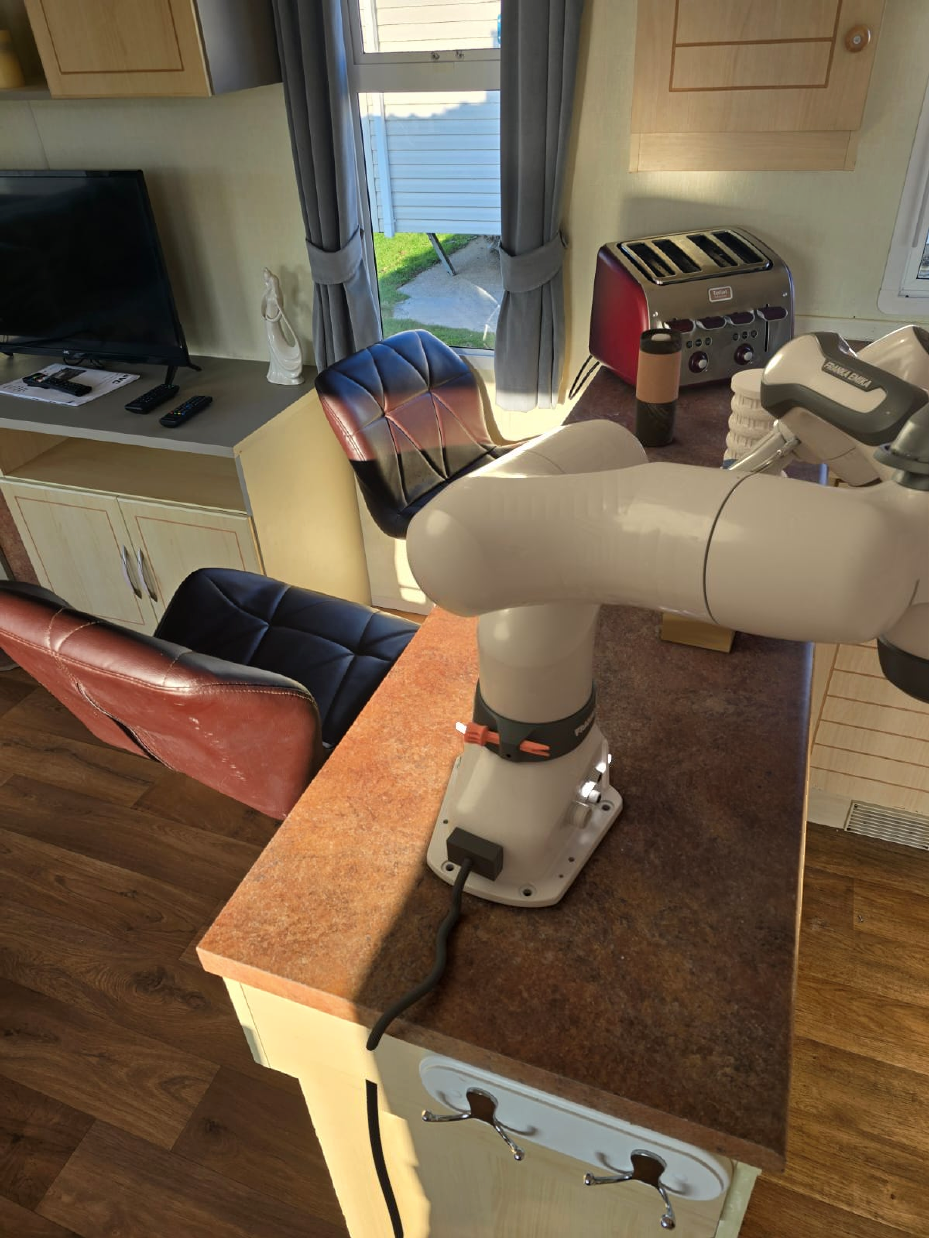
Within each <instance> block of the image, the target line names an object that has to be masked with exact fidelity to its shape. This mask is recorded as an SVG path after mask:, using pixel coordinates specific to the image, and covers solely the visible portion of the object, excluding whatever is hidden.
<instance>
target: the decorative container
mask: <svg viewBox="0 0 929 1238" xmlns="http://www.w3.org/2000/svg"><path fill="white" fill-rule="evenodd" d="M763 370H764V368H752V369H745V370H742V371H739V372H737V373H735V374H733V376H732V377H731V383H730V389H731V390H732V392H734V395H733V396H732V398H731V401H730V407H731V410H732V413H731V414H730V416H729V418H728V422H727V423H728V428H729V431H728V433H726V434H727V435H726V437H725V443H726V444H725V445H726V446H727V448H726V450H725V452H724V453H723V462H724V461H725V460H727V459H739V458H740V457H741V456H743V455H744V454H745V453H746V452H747V451H748V450H750V449H751V448H752V447H753V446H754V445H755V444H756V443H758V442H759V441H760V440H761V439H762V438H763V437H765V436H766V435H767V434H768V433H769V432H770V431H772V430H773V429H774V422H775V420H776V418H774V417H773V416H772V415H771V414H770V413H768V412H767V411H766V410H765V409H764V408H762V407H761V400H760V385H761V377H762V373H763ZM719 468H720V469H722V466H720V467H719ZM775 476H782V477H788V475H787V473H786V471H784V469H783V470H781V471H780V472H779V473H778V474H776V475H775Z"/></svg>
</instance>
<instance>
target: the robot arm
mask: <svg viewBox="0 0 929 1238" xmlns="http://www.w3.org/2000/svg"><path fill="white" fill-rule="evenodd" d="M763 369H764V370H763V373H762V377H761V385H760V400H761V407H762V408H764V409H765V410H766V411H767V412H768V413H770V414H771V415H772V416H773V417H774V418H776V420H775V422H774V429H773V430H772V431H770V432H769V433H768V434H767V435H766V436H765V437H763V438H762V439H761V440H760V441H759V442H758V443H756V444H755V445H754V446H753V447H752V448H751V449H750V450H748V451H747V452H746V453H745V454H744V455H743V456H741V457H740V458H739V459H738V460H737V461H736V462H734V463H733V464H732V465H731V466H730V467H729V468H728V469H720V467H711V466H704V465H695V464H685V463H678V462H677V463H676V462H670V461H653V462H650V461H649V458H648V456H647V453H646V451H645V449H644V447H643V445H642V444H640V443H639V441H638V440H637V439H636V437H635V434H633V433H632V432H631V431H630V430H628V429H627V428H626V427H624V426H623V425H621V424H620V423H618V422H615V421H611V420H608V419H603V418H602V419H600V418H597V419H590V420H585V421H579V422H573V423H569V424H564V425H561V426H557V427H554V428H553V429H551V430H549V431H546V432H545V433H542V434H541V435H539V436H537V437H535V438H533V439H531V440H529V441H527V442H525V443H524V444H521V445H519V446H518V447H516V448H514V449H512V450H510V451H508V452H506V453H505V454H503V455H501V456H499V457H498V458H495V459H493V460H492V461H490V462H488V463H486V464H484V465H482V466H481V467H478V468H477V469H474V470H473V471H471V472H469V473H467V474H465V475H463V476H461V477H459V478H457V479H456V480H454V481H452V482H451V483H449V484H448V485H447V486H445V487H444V488H442V490H441V491H440V492H438V493H437V494H436V495H435V496H434V497H432V498H431V499H430V500H429V502H427V503H426V504H425V505H424V506H423V507H422V508H421V509H420V510H419V511H417V512H416V513H415V514H414V516H413V517H412V518H411V520H410V521H409V523H408V526H407V531H406V536H405V537H406V538H405V551H406V552H405V553H406V560H407V563H408V567H409V570H410V572H411V575H412V577H413V580H414V581H415V583H416V584H417V587H418V588H419V589H420V590H421V592H422V593H423V594H424V596H426V598H428V600H429V601H431V602H432V603H433V604H434V605H436V606H437V607H439V608H440V609H442V610H443V611H445V612H448V613H450V614H452V615H454V616H457V617H461V618H475V617H478V619H477V624H476V645H477V647H476V648H477V662H478V663H477V665H478V679H477V682H476V685H475V692H474V696H473V703H472V704H473V705H472V709H471V713H472V714H471V715H472V717H471V721H470V722H468V723H467V724H466V726H465V725H463V723H460V722H458V721H457V723H456V730H458V731H460V732H462V733H463V740H464V742H465V743H464V746H463V747H464V748H463V751H462V753H461V754H459V755H458V756H457V757H456V759H455V762H454V764H453V768H452V772H451V774H450V778H449V780H448V784H447V788H446V790H445V794H444V796H443V800H442V804H441V807H440V810H439V813H438V816H437V819H436V822H435V826H434V829H433V832H432V836H431V839H430V843H429V845H428V849H427V853H426V863H427V865H428V867H429V868H430V869H431V870H432V871H433V873H434V874H436V875H437V877H439V878H440V879H441V880H443V881H444V882H446V883H447V884H449V885H451V886H452V890H451V903H450V908H449V911H448V913H447V915H446V917H445V918H444V920H443V921H442V923H441V924H440V926H439V928H438V930H437V933H436V935H435V944H434V947H435V962H434V966H433V967H432V969H431V971H430V972H429V974H427V976H426V977H425V979H423V981H422V982H421V983H420V984H418V985H417V986H416V987H415V988H413V989H412V990H410V991H409V992H408V993H406V994H404V995H403V996H402V997H400V998H399V999H398V1000H396V1001H395V1002H394V1003H392V1004H391V1005H390V1006H389V1007H388V1008H387V1009H386V1010H385V1011H384V1012H383V1013H382V1014H381V1016H380V1017H378V1019H377V1021H376V1023H375V1024H374V1026H373V1027H372V1029H371V1032H370V1033H369V1035H368V1038H367V1041H366V1043H365V1044H366V1045H365V1048H366V1051H369V1052H372V1051H374V1050H376V1049H377V1047H379V1043H380V1041H381V1039H382V1037H383V1035H384V1034H385V1032H386V1031H387V1029H388V1027H389V1026H390V1025H391V1023H392V1022H393V1021H394V1020H395V1019H396V1018H397V1017H398V1016H400V1015H401V1014H402V1013H403V1012H404V1011H406V1010H407V1009H409V1008H410V1007H411V1006H412V1005H414V1004H416V1003H417V1002H418V1001H420V1000H421V999H422V998H423V997H425V996H426V995H427V994H428V993H429V992H430V991H432V989H433V988H434V987H435V986H436V985H437V983H438V982H439V981H440V979H441V977H442V975H443V974H444V972H445V969H446V965H447V939H448V936H449V933H450V931H451V930H452V928H453V927H454V925H455V924H456V923H457V921H458V918H459V916H460V913H461V911H462V907H463V906H462V905H463V892H465V893H468V894H470V895H473V896H474V897H475V896H476V897H478V898H481V899H484V900H487V901H490V902H494V903H497V904H502V905H507V906H511V907H512V906H513V907H519V908H543V907H548V906H553V905H556V904H557V903H559V902H560V901H561V900H562V898H563V897H564V895H565V894H566V892H567V891H568V889H569V888H570V886H571V885H572V884H573V882H574V881H575V879H576V878H577V877H578V875H579V874H580V873H581V870H582V869H583V867H584V866H585V865H586V863H587V862H588V861H589V859H590V858H591V856H592V855H593V853H594V852H595V850H596V849H597V847H598V846H599V844H600V843H601V841H602V840H603V838H604V837H605V835H606V834H607V832H608V831H609V829H610V828H611V827H612V825H613V824H614V822H615V821H616V819H617V818H618V816H620V814H621V812H622V811H623V808H624V807H623V798H622V796H621V794H620V793H619V792H618V791H617V790H616V788H614V787H613V786H612V785H611V784H610V762H611V760H612V755H611V754H609V753H610V749H609V746H610V745H609V741H607V738H606V736H605V735H604V734H603V733H602V731H601V729H600V728H599V726H598V724H597V722H596V715H597V714H596V712H597V708H598V694H597V686H596V681H595V678H594V677H593V673H594V656H595V643H596V631H597V627H598V626H597V625H598V620H599V617H600V612H601V608H602V605H604V606H605V605H607V606H624V607H632V608H633V607H634V608H638V609H645V610H648V611H649V610H650V611H654V612H658V613H662V614H663V613H666V614H671V615H675V616H679V617H683V618H688V619H692V620H696V621H700V622H704V623H708V624H712V625H716V626H720V627H724V628H728V629H732V630H736V631H737V632H742V633H745V634H750V635H755V636H761V637H766V638H772V639H778V640H786V641H792V642H804V643H812V644H825V645H826V644H827V645H845V646H846V645H847V646H848V645H849V646H850V645H860V644H864V643H868V642H871V641H874V640H876V648H877V655H878V661H879V662H878V663H879V665H880V668H881V672H882V674H883V676H884V677H885V678H886V680H887V681H888V682H889V683H891V684H892V685H893V686H895V687H896V688H897V689H899V690H900V691H901V692H902V693H904V694H906V695H907V696H909V697H910V698H913V699H914V700H917V701H919V702H921V703H924V704H928V705H929V331H928V330H926V329H924V328H922V327H921V326H917V325H915V324H910V325H906V326H904V327H901V328H899V329H897V330H894V331H893V332H890V333H888V334H886V335H885V336H882V337H881V338H879V339H878V340H877V339H876V340H875V341H873V342H872V343H871V344H869V345H867V346H865V347H864V348H862V349H860V350H859V351H857V352H854V351H853V350H852V349H851V346H850V344H849V343H847V341H846V340H845V339H844V338H843V337H842V336H841V335H840V333H839V332H837V331H826V330H825V331H824V330H822V331H810V332H805V333H803V334H800V335H797V336H795V337H794V338H792V339H791V340H789V341H788V342H786V343H785V344H784V345H782V347H780V348H779V349H778V350H777V351H776V352H775V353H774V354H773V355H772V357H771V358H770V359H769V360H768V362H767V363H766V365H765V367H763ZM792 461H795V462H797V463H804V462H806V463H808V464H811V465H819V464H824V465H825V466H826V467H827V468H828V469H829V470H830V471H831V472H832V473H834V474H835V475H836V476H837V477H838V478H839V479H840V480H841V481H843V482H844V483H845V484H847V485H848V486H849V487H840V486H832V485H827V484H821V483H817V482H812V481H808V480H803V479H798V478H793V477H789V476H787V477H782V476H775V475H776V474H778V473H779V472H780V471H781V470H783V471H784V469H785V468H786V467H787V466H788V465H789V464H790V463H791V462H792ZM736 631H735V632H736ZM450 870H451V871H450ZM526 894H529V895H528V896H526ZM364 1081H365V1093H366V1095H365V1096H366V1114H367V1128H368V1136H369V1137H368V1138H369V1144H370V1149H371V1156H372V1160H373V1164H374V1168H375V1172H376V1176H377V1179H378V1182H379V1186H380V1189H381V1192H382V1195H383V1198H384V1202H385V1205H386V1208H387V1211H388V1214H389V1218H390V1223H391V1227H392V1231H393V1236H394V1238H405V1232H404V1228H403V1221H402V1217H401V1213H400V1210H399V1206H398V1203H397V1200H396V1197H395V1193H394V1189H393V1186H392V1183H391V1180H390V1176H389V1172H388V1168H387V1164H386V1160H385V1155H384V1151H383V1150H384V1149H383V1143H382V1138H381V1130H380V1129H381V1128H380V1116H379V1099H378V1098H379V1096H378V1094H379V1093H378V1083H377V1082H376V1083H375V1082H374V1081H372V1080H369V1079H367V1078H365V1080H364Z"/></svg>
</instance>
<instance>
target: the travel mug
mask: <svg viewBox="0 0 929 1238" xmlns="http://www.w3.org/2000/svg"><path fill="white" fill-rule="evenodd" d="M683 339H684V335H683V332H682V331H680V330H677V329H674V328H668V327H667V328H666V327H657V328H655V327H654V328H650V329H649V328H648V329H646V330H643V331H642V332H641V333H640V335H639V347H638V348H639V351H638V361H637V362H638V364H637V375H636V389H635V390H636V391H635V415H634V417H635V418H634V436H635V437H636V439H637V440H638V441H639V443H640V444H641V446H645V447H664V446H668V445H670V444H671V443H672V442H673V438H674V431H675V421H676V415H677V408H678V398H679V387H680V377H681V366H682V365H681V364H682V353H683Z"/></svg>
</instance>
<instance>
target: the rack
mask: <svg viewBox="0 0 929 1238" xmlns="http://www.w3.org/2000/svg"><path fill="white" fill-rule="evenodd" d="M735 635H736V630H732V629H728V628H724V627H720V626H716V625H712V624H708V623H704V622H700V621H696V620H692V619H688V618H683V617H679V616H675V615H671V614H666V613H662V625H661V633H660V640H662V641H667V642H671V643H677V644H684V645H688V646H692V647H693V646H694V647H698V648H703V649H709V650H713V651H718V652H722V653H728V654H729V653H730V652H731V648H732V645H733V641H734V637H735Z"/></svg>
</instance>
